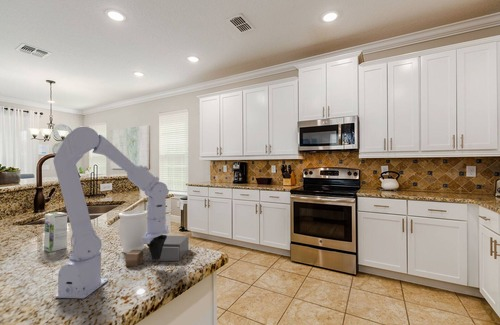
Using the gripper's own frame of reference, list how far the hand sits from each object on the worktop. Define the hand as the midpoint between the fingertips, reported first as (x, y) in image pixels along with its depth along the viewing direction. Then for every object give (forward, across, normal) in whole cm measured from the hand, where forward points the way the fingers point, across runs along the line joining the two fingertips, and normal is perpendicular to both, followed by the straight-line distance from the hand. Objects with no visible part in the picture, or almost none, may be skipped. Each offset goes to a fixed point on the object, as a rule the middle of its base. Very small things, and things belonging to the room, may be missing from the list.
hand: (156, 258), depth 77 cm
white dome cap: (+1, +10, 0) cm, 10 cm away
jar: (+3, +16, +17) cm, 23 cm away
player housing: (+3, +12, 0) cm, 12 cm away
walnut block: (+3, +3, +9) cm, 10 cm away
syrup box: (+3, +15, +49) cm, 51 cm away
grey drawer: (+3, +10, 0) cm, 11 cm away
